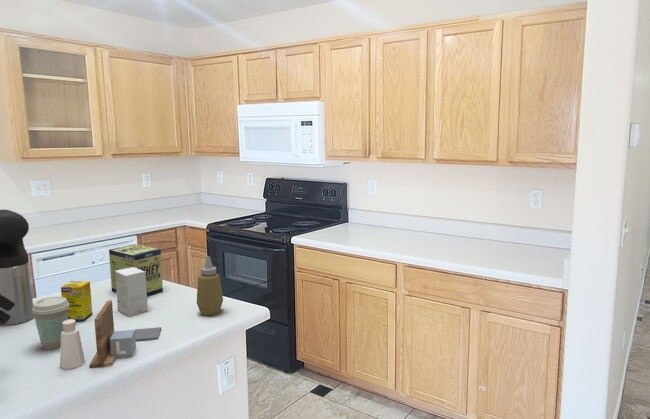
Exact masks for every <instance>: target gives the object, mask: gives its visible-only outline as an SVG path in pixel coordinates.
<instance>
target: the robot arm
mask: <svg viewBox="0 0 650 419" xmlns="http://www.w3.org/2000/svg"><path fill="white" fill-rule="evenodd" d="M29 227H30V226H29V222H28V220H27V219H26V218H25V217H24V216H23V215H21V214H20V213H19V212H16V211H13V210H10V209H0V325H2V326H12V325H17V324H18V325H19V324H23V323H25V322H28V321H31V320H32V319H34V318H35V317H34V313H32V308H33V305H34V301H33V292H32V291H33V290H32V282H31V272H30V262H29V255H28V252H27V250H26V248H25V244H24V238H25V237H26V236H27V234H28V233H29V229H30V228H29Z"/></svg>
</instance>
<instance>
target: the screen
mask: <svg viewBox="0 0 650 419" xmlns="http://www.w3.org/2000/svg"><path fill="white" fill-rule="evenodd" d="M113 310H114V309H113V300H111V299H110V300H106V301H105V303H104V304H103V306H102V308H101V309H100V310H99V312H98V313H97V314H96V317H95V318H94V319H93V320H94V334H95V344H96V346H95V347H96V352H95V354H94V356H93V358H92V359H91V361H90V363H89V368H90V369H91V368H103V367H112V366H113V365H114V362H115V360H116V359H117V358H116V356H115V355H111V348H110V338H111V336H112V335H113V333H114V331H115V325H114V324H115V323H114V311H113Z"/></svg>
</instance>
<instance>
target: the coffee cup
mask: <svg viewBox="0 0 650 419" xmlns="http://www.w3.org/2000/svg"><path fill="white" fill-rule="evenodd" d="M68 307H69V302H68V301H67V299H66V298H65V297H62V296H49V297H44V298H41V299H38V300H36V301H35V302H33V308H32V313H34V317H33V318H34V320H35V324H36V329H37V333H38V336H39V342H40V345H41V348H42V349H44V350H54V349H58V348H61V332H63V331H64V330H63V324H62V323H63V322H64V321H65V320H68Z"/></svg>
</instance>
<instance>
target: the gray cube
mask: <svg viewBox="0 0 650 419" xmlns="http://www.w3.org/2000/svg"><path fill="white" fill-rule="evenodd" d="M136 342H137V341H136V339H135V329H126V330H125V329H124V330H114V333H113V335H112V336H111V338H110V348H111V355H115V356H116V358H115V359H117V358H118V359H120V358H129V357H134V355H135V352H136V350H137V343H136Z"/></svg>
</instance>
